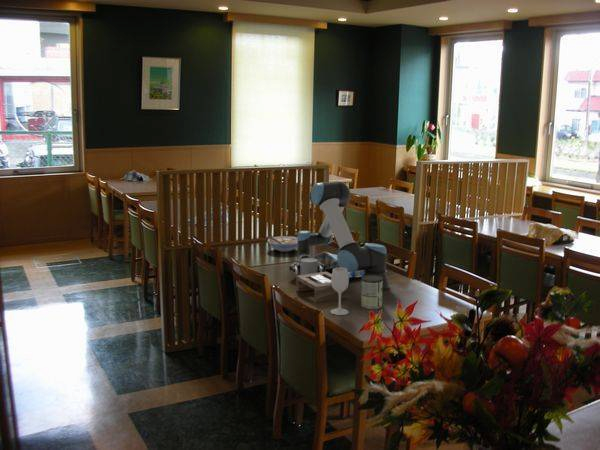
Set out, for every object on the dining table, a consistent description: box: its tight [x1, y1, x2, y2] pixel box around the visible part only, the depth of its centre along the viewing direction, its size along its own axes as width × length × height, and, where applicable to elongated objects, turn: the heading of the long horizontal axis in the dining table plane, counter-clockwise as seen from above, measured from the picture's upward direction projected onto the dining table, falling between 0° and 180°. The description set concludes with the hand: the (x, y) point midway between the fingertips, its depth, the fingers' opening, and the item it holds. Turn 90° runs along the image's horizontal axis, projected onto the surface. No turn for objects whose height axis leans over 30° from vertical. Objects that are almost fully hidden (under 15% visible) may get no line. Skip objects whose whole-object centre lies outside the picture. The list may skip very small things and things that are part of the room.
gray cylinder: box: [299, 257, 319, 275], centre depth 346 cm, size 10×10×12 cm
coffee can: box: [360, 275, 383, 310], centre depth 306 cm, size 10×10×14 cm
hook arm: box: [310, 275, 331, 284], centre depth 324 cm, size 15×6×2 cm, turn 27°
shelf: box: [295, 271, 349, 303], centre depth 325 cm, size 22×18×8 cm
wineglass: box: [329, 266, 350, 316], centre depth 296 cm, size 9×9×21 cm
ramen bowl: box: [266, 235, 298, 253], centre depth 416 cm, size 25×23×8 cm
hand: (309, 271), depth 344 cm, fingers open, 13 cm apart
